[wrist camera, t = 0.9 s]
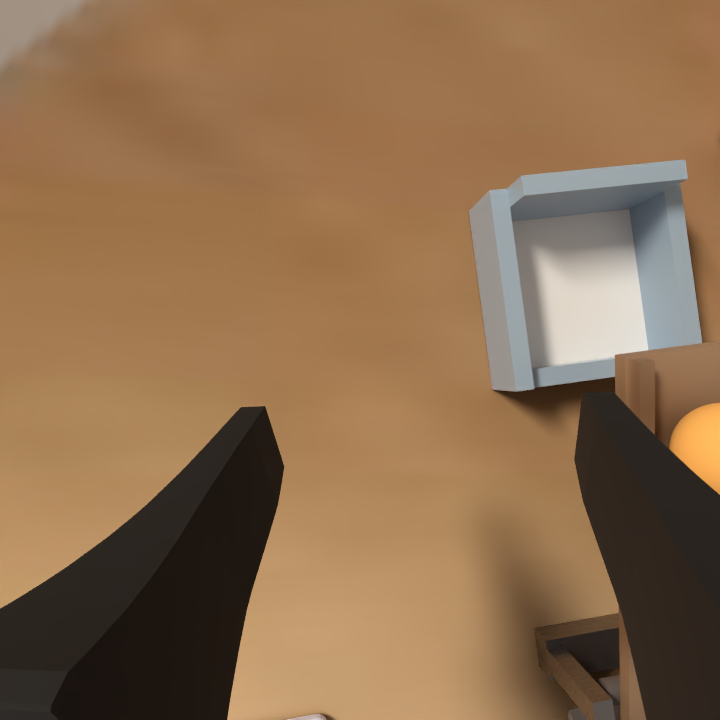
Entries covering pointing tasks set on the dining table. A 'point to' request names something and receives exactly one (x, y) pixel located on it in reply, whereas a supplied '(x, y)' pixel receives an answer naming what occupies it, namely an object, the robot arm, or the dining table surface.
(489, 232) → the shallow blue tray
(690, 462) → the ball
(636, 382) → the lever
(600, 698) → the fulcrum
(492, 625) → the dining table surface
